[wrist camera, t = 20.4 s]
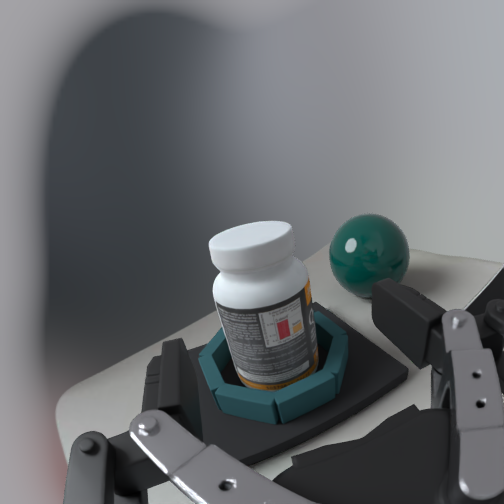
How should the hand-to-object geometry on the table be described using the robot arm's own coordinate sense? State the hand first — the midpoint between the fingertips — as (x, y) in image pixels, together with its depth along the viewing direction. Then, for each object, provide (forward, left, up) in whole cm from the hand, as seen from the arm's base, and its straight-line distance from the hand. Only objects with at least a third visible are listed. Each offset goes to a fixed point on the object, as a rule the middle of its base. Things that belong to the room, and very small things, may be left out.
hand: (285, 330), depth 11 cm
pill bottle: (+1, +6, -8) cm, 10 cm away
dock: (+1, +6, -8) cm, 10 cm away
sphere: (+14, +11, -9) cm, 20 cm away
